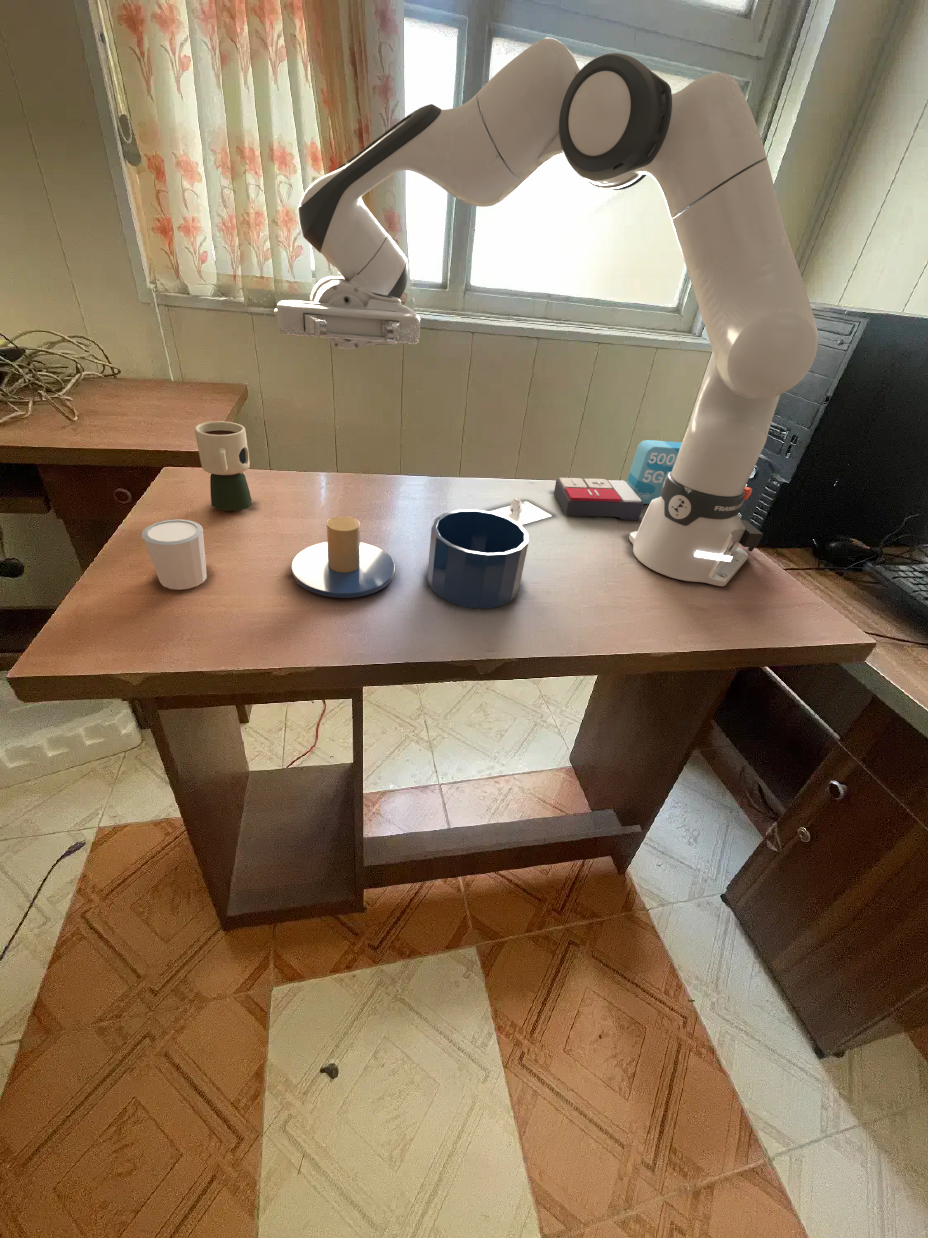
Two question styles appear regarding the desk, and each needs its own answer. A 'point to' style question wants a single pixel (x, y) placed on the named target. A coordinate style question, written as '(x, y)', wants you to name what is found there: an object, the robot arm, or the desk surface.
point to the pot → (476, 558)
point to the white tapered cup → (177, 552)
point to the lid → (343, 563)
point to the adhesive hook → (522, 512)
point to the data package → (652, 468)
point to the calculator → (598, 498)
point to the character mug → (225, 463)
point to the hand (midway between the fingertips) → (357, 331)
